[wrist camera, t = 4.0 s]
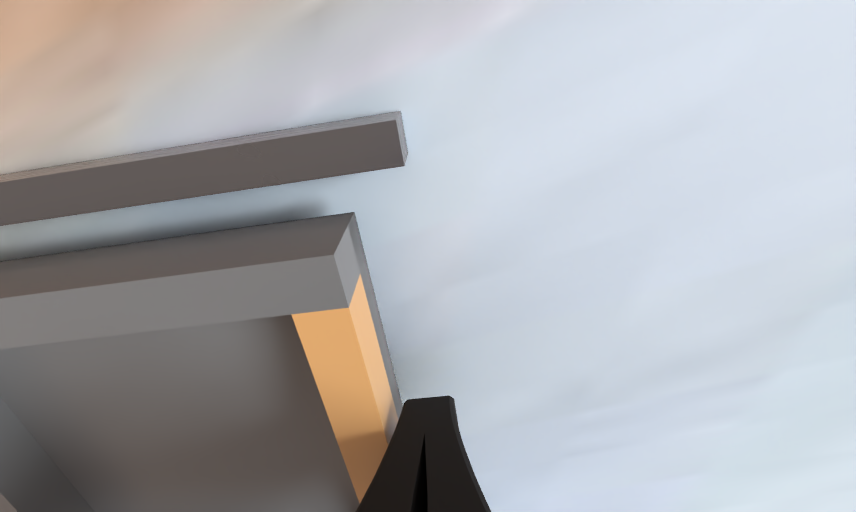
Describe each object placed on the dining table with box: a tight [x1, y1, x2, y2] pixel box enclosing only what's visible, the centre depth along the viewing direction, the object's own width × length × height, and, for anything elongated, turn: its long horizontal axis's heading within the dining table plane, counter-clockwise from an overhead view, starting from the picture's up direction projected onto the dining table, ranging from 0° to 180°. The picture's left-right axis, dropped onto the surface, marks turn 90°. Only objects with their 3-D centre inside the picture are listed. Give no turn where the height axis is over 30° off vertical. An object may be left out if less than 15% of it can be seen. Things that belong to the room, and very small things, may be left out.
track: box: [0, 111, 408, 226], centre depth 14 cm, size 16×22×1 cm
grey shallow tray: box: [0, 212, 403, 512], centre depth 13 cm, size 12×12×3 cm
